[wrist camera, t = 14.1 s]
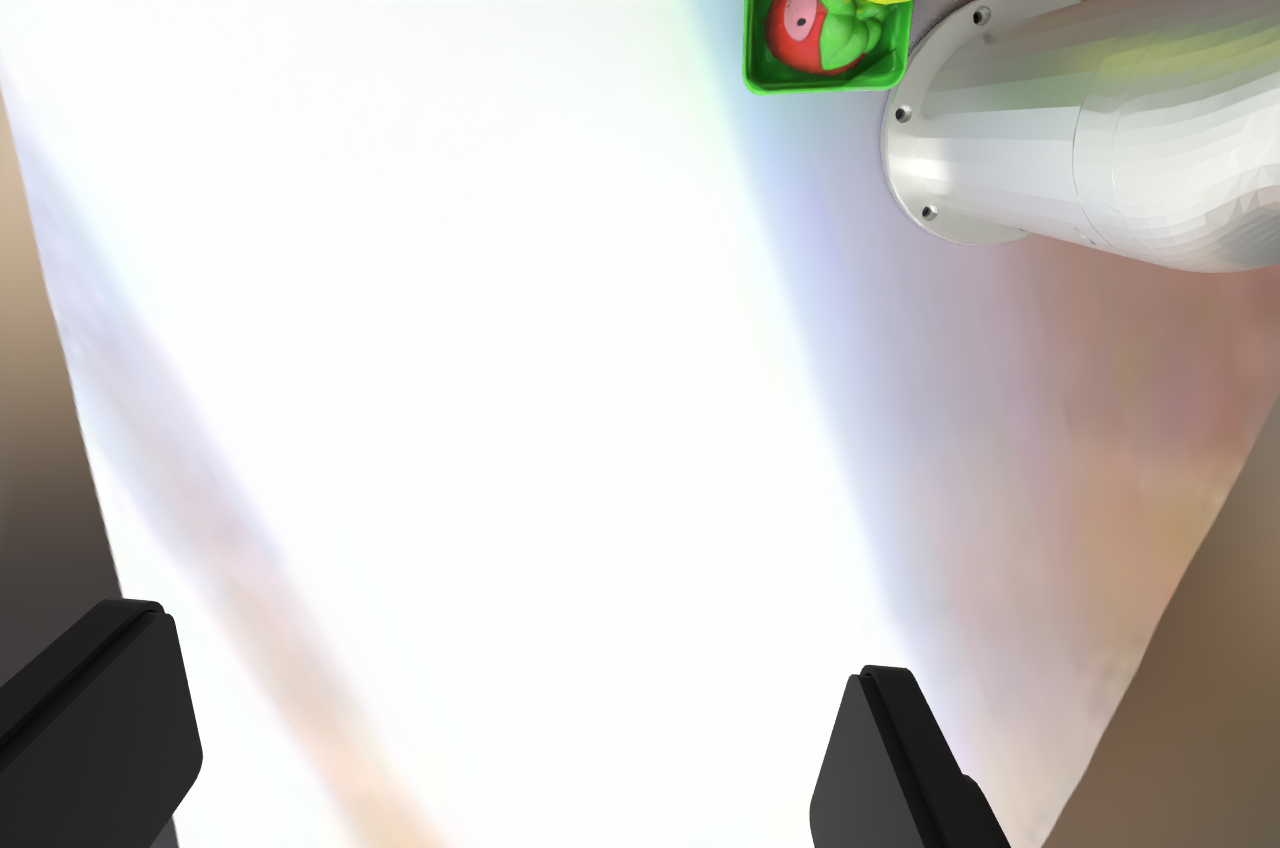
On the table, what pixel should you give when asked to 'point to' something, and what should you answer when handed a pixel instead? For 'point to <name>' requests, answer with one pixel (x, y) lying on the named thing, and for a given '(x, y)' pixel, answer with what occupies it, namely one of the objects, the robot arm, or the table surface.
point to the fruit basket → (825, 45)
